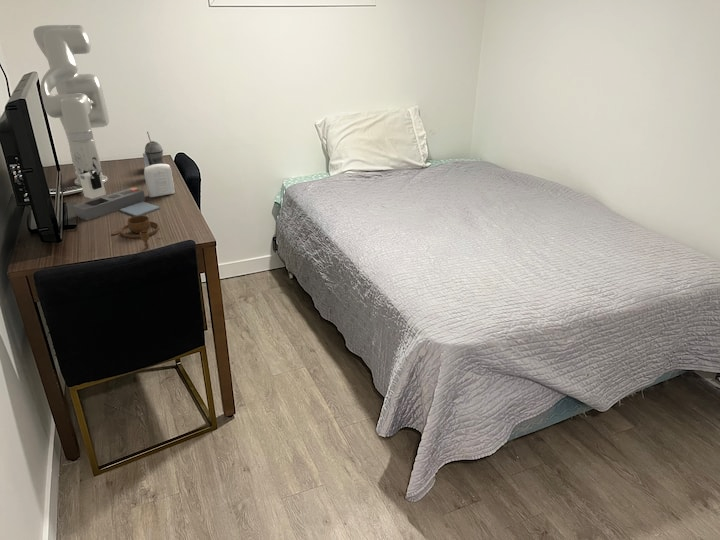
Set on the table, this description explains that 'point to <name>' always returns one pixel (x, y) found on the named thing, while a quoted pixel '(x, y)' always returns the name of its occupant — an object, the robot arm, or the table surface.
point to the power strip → (109, 203)
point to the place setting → (139, 228)
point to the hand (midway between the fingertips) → (93, 186)
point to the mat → (139, 209)
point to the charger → (88, 188)
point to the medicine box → (145, 160)
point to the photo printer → (159, 180)
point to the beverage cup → (154, 152)
